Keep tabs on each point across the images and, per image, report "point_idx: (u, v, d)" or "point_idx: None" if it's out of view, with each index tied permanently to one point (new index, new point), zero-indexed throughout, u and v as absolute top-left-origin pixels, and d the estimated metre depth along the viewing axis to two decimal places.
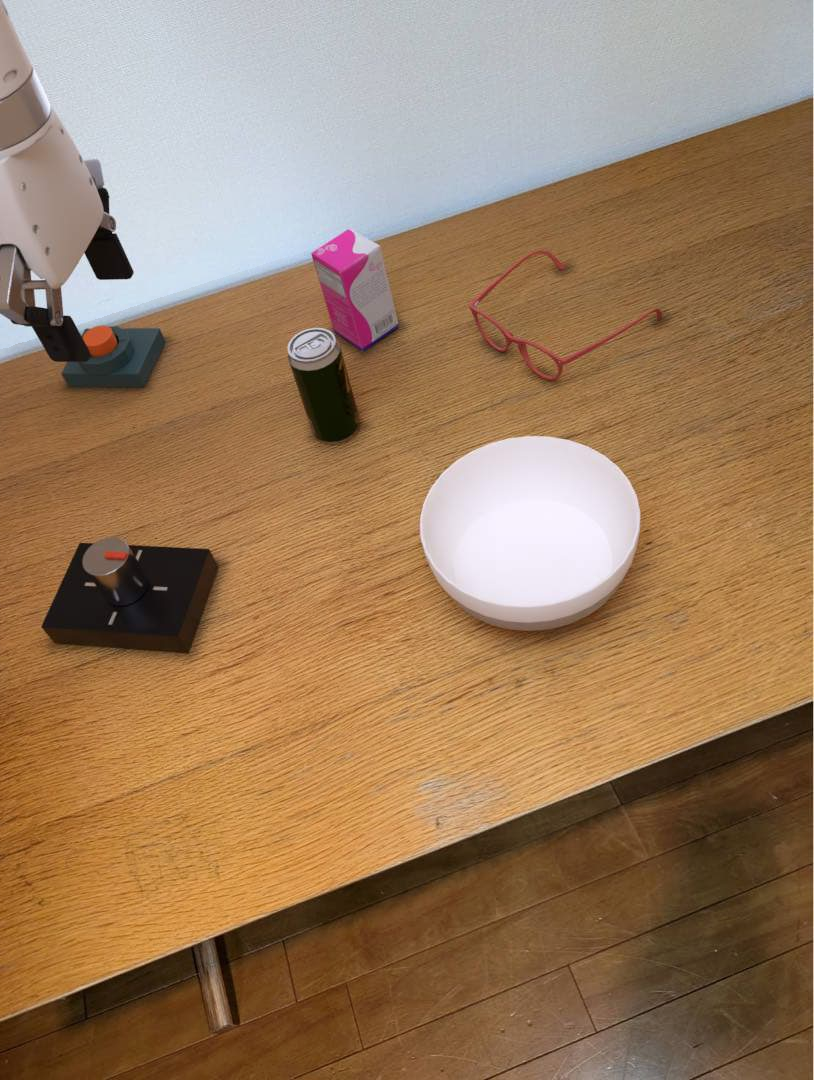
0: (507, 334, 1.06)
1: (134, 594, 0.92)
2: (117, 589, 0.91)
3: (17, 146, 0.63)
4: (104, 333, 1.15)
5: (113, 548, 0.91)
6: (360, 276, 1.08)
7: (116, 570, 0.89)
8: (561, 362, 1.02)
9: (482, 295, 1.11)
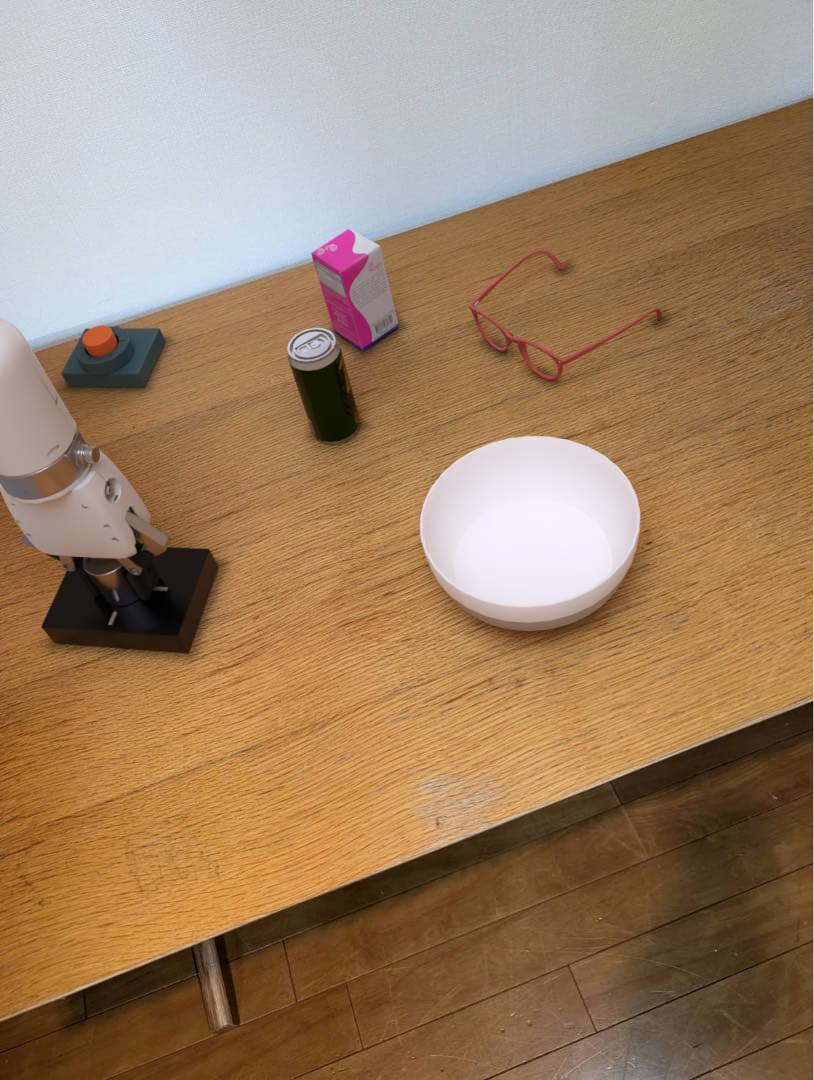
0: (507, 334, 1.06)
1: (134, 594, 0.92)
2: (117, 589, 0.91)
3: None
4: (104, 333, 1.15)
5: None
6: (360, 275, 1.08)
7: (116, 570, 0.89)
8: (561, 362, 1.02)
9: (482, 295, 1.11)
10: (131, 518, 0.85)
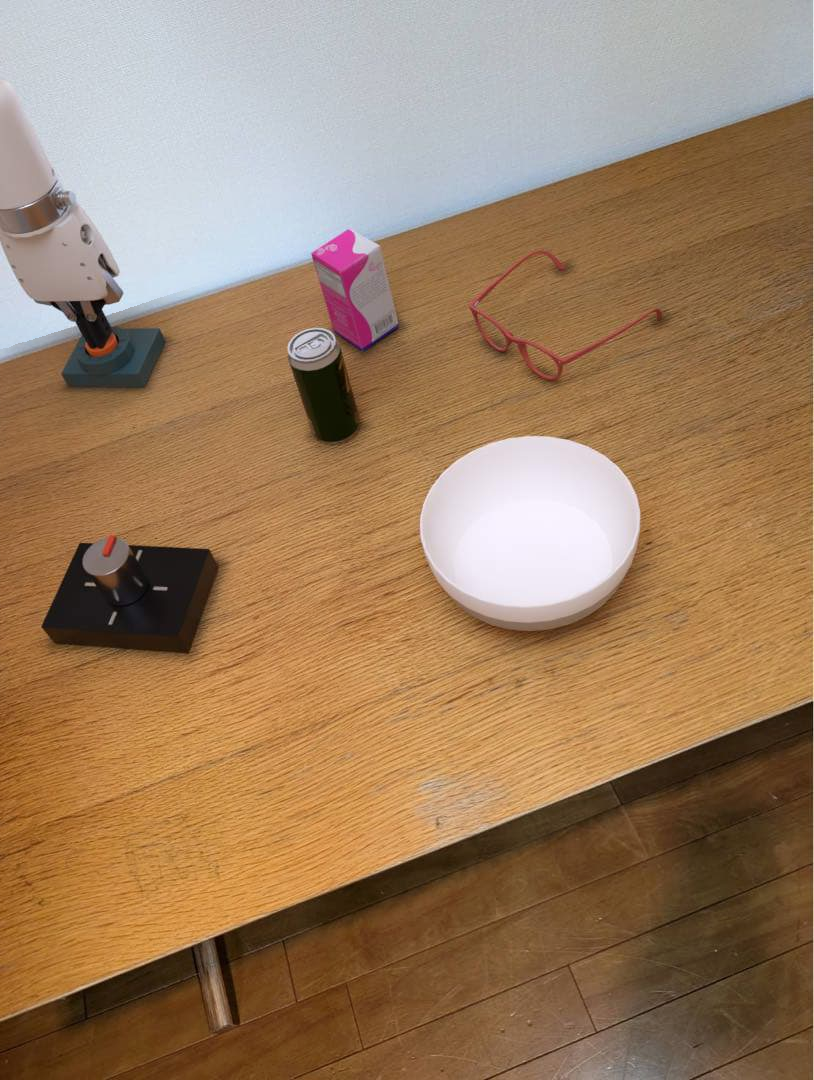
0: (507, 334, 1.06)
1: None
2: (138, 563, 0.92)
3: (1, 229, 1.01)
4: None
5: (98, 551, 0.91)
6: (360, 276, 1.08)
7: (126, 543, 0.91)
8: (561, 362, 1.02)
9: (482, 295, 1.11)
10: (101, 267, 1.07)
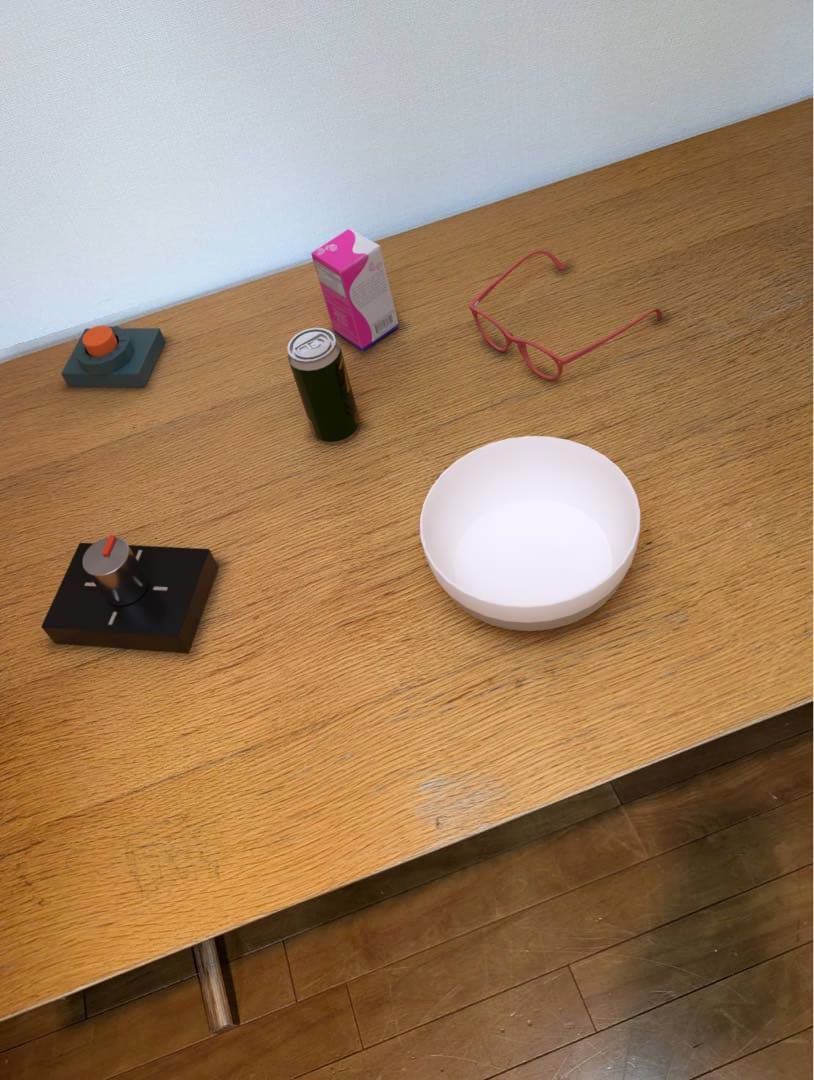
0: (507, 334, 1.06)
1: None
2: (138, 563, 0.92)
3: None
4: (104, 333, 1.15)
5: (98, 551, 0.91)
6: (360, 276, 1.08)
7: (126, 543, 0.91)
8: (561, 362, 1.02)
9: (482, 295, 1.11)
10: None
